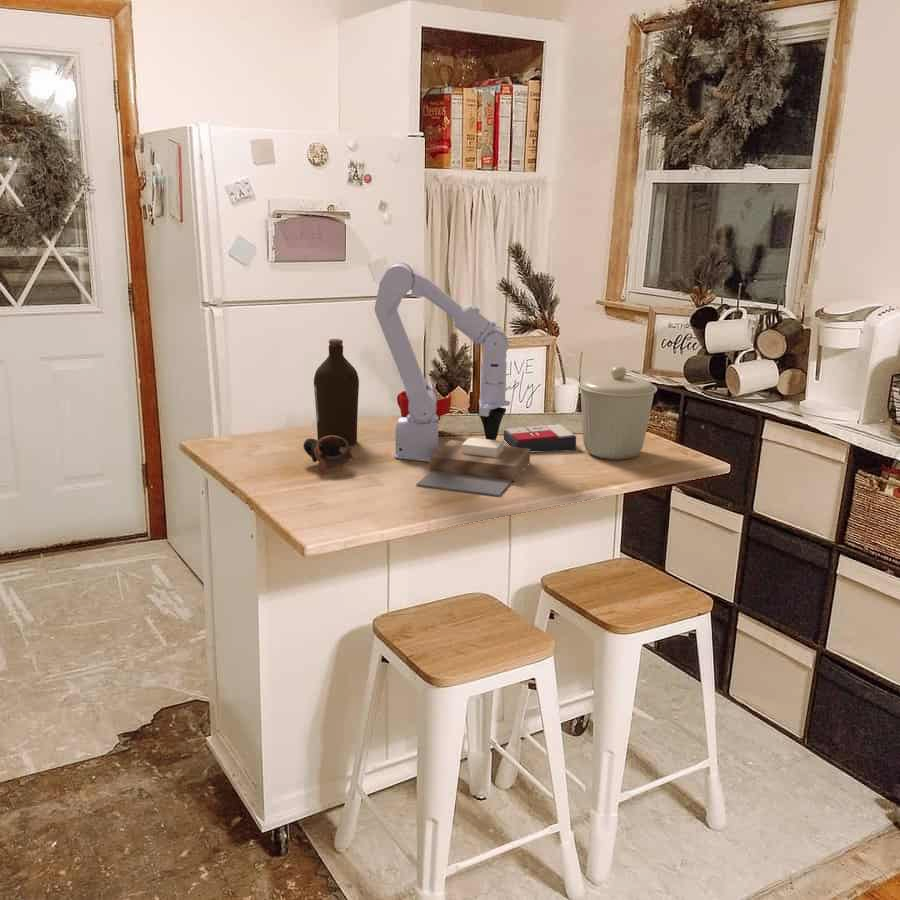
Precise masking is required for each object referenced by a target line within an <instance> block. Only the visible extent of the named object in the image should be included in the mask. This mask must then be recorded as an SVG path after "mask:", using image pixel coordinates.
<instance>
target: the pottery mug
mask: <svg viewBox="0 0 900 900" xmlns="http://www.w3.org/2000/svg"><path fill="white" fill-rule="evenodd" d="M323 443H324V444H323ZM321 444H323V445H321ZM341 445H345V446H346V447H345V450H344V451H341ZM303 449H304V452H305V453H306V454H307V455H308V456H309V457H310V458H311V460H312V462H313V463H316V462H318V464H317V468H316V470H317V471H318V472H319V473H321V474H324V473H325V472H326V471H330V470H334V469H338V468H342V467H344V465H346V464H347V463H348V462H349V461H350V460H353V459H354V457H353V454H352V452H351V451H352V446H349V443H348V441H346V440H345V439H344V438H342V437H339V436H335V435H329V436H325V437H323V438H321V439H320V440H318V439H315V438H307V439H305V441H304V443H303Z"/></svg>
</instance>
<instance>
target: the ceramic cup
mask: <svg viewBox="0 0 900 900" xmlns="http://www.w3.org/2000/svg"><path fill="white" fill-rule="evenodd" d="M431 389H432V388H431ZM432 390H433V391H434V388H433V389H432ZM434 392H435V391H434ZM448 393H449V397H448V398H445V399H441V400H437V403H436V407H437V409H436V415H437V416H438V417H439V419H438V424H439V420H440V416H441V415H444V414H447V413H449V412H451V406H452V394H451V393H450V392H448ZM396 402H397V405H398V407H399V410H400V415H401V417H407V415H409V411H408V406H409V400H408V397H407V395H406V391H405V390H403V391H402V392H399V393H398V395H397V397H396ZM449 414H450V413H449Z"/></svg>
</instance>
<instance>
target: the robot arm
mask: <svg viewBox="0 0 900 900" xmlns="http://www.w3.org/2000/svg"><path fill="white" fill-rule="evenodd" d="M377 290H378V291H377V295H376V299H375V303H374V312H375V313H374V314H375V316H376V318H377V320H378V323H379V326H380V328H381V330H382V332H383V335H384V338H385V340H386V343H387V345H388V348H389V350H390V353H391V355H392V357H393V360H394V363H395V365H396V368H397V370H398V373H399V375H400V378H401V379H402V382H403V386H404V389H405V390H404V391H406V395H407V397H408V400H409V406H408V411H409V415H407V417H402V416H401V417H399V418H398V421H397V422H396V426H395V455H394V458H395V459H401V460H409V461H411V460H412V461H419V462H427V463H428V462H429V463H430V456H432V455H433V454H434V453H435V452H437V451H438V450H439V432H438V419H439V417H438V416H437V415H436V409H437V407H436V403H437V396H436V393H435V392H434V391H433V390H432V387H430V385H429V384H428V381H427V379H426V378H425V376H424V374H423V372H422V370H421V366H420V365H419V362H418V360H417V357H416V354H415V352H414V350H413V347H412V345H411V342H410V339H409V337H408V335H407V332H406V330H405V326H404V323H403V321H402V318H401V316H400V314H399V312H398V308H399V306H400V304H401V302H402V300H403V298H404V297H405V296H406V295H407V294H408V293H409V292H410V291H411V294H410V296H414V297H424V298H426V299H427V300H428V301H429V302H431V303H433V304H434V305H435V306H437V308H439V309H441V310H442V311H443V312H445V313H446V314H447V315H449V316H450V317H451V318H452V320H453V323H452V324H453V327H455V329H457V330H459V331H460V332H461V333H462V334H464V335H465V336H466V337H467V338H469V339H470V340H471V341H472V342H474V343H475V344H480V345H481V349H482V358H481V361H480V363H481V364H480V383H479V385H480V387H479V389H480V390H479V391H480V393H479V400H478V405H479V408H478V411H477V414H478V416H479V418H480V420H481V423H482V427H483V431H484V436H485V439H488V440H497V437H498V435H499V430H500V425H501V423H502V420H503V417H504V416H505V413H506V412H507V408H506V407H509V406H510V405H511V401H509V400H506V389H507V388H506V386H507V385H506V384H507V365H508V364H507V361H506V360H507V351H508V350H509V346H510V344H509V340H508V337H507V335H506V332H505V331H504V330H503V329H502V327H500V326H498V325H497V323H496V322H495V321H494V320H493V321H492V322H491V321H490V319H487V317H485V316H484V315H483V314H482V313H480V309H479V307H478V306H474V307H473V306H471V305H460V304H459V303H458V302H457V301H456V300H455V299H454V298H452V296H450V295H449V294H448V293H446V292H445V291H444V290H443V289H442V288H441V287H440V286H438V285H437V284H436V282H434V281H432V280H431V279H430V278H428V277H427V276H426V275H424V274H423V273H422V272H420V271H419V270H417V269H414V270H413V268H412V267H411V266H410V265H409V264H408V263H406V262H400V261H398V262H395V263H393V264H391V265H390V266H389V267H388V268H387V270H386V271H385V273H384V274H383V277H382V278H381V279H380V281H379V285H378V289H377ZM505 406H506V407H505Z"/></svg>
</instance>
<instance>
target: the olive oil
mask: <svg viewBox="0 0 900 900" xmlns="http://www.w3.org/2000/svg"><path fill="white" fill-rule="evenodd" d="M343 343H344V342H343V339H339V338H331V339H329V340H328V344H329V345H328V356H327V357H326V359H325V360H324V361H323V362H322V363H321V364H320V365H319V366H318V368H316V371H315V373H314V377H313V389H314V402H315V403H314V404H315V417H316V433H317V441H318V440H320V439H321V438H323V437H325V436H329V435H335V436H339V437H342V438H344V439H345V440H346V441H348V443H349V446H350V447H352V446H355V445H356V444H357V442H358V411H359V392H360V390H359V388H360V378H359V375H358V372H357V370H356V368H355V367H354V366H353V365H352V364H351V363H350V361H348V359H346V357H345V356H344V345H343ZM323 444H324V443H323ZM323 444H321V445H323ZM341 448H346V446H345V445H341ZM341 448H340V449H341Z"/></svg>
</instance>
